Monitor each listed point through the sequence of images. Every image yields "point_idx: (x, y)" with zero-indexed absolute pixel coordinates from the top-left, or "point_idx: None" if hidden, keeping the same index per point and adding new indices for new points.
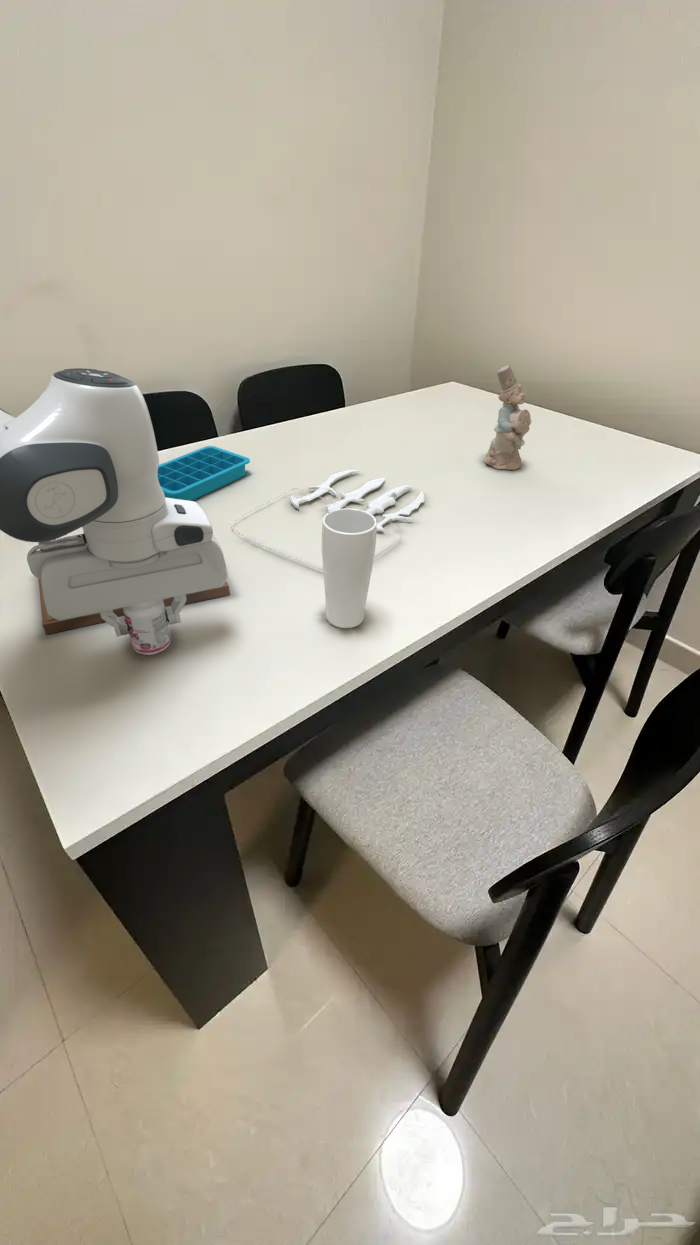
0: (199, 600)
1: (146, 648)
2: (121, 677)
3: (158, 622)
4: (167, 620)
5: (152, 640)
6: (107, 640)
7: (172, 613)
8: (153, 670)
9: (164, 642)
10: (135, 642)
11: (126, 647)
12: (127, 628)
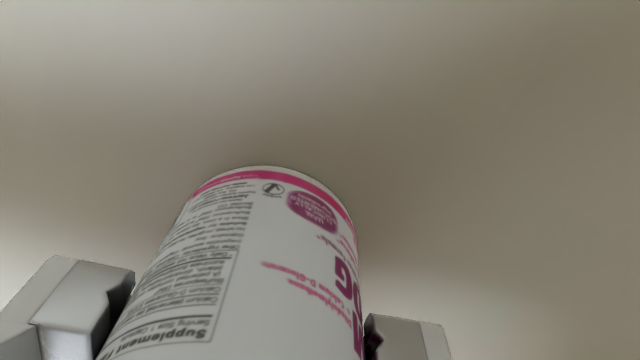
0: None
1: (312, 200)
2: (493, 103)
3: (173, 300)
4: None
5: (268, 216)
6: None
7: (48, 330)
8: (336, 59)
9: (211, 192)
10: (351, 255)
11: (372, 269)
12: (379, 348)
